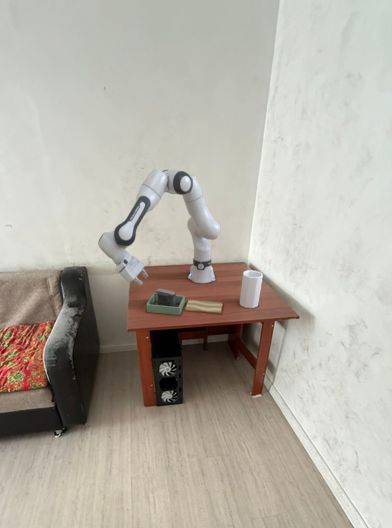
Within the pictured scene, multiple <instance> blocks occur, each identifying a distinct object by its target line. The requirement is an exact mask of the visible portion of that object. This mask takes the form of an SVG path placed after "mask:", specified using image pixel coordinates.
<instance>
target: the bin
mask: <svg viewBox="0 0 392 528" xmlns="http://www.w3.org/2000/svg"><path fill="white" fill-rule="evenodd" d="M185 300H186V297H185V295H177V294H176V304H179V306H176V307H171V306H160V305H156V304H154V303H155V302H156V292H153V294H152V295H151V297H150V298H149V299H148V301H147V303H146V305H145V306H146V312H147V313H153V314H164V315H173V316H181V314H182V311H183V308H184V306H185V303H186V301H185Z"/></svg>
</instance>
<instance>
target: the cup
mask: <svg viewBox="0 0 392 528" xmlns="http://www.w3.org/2000/svg"><path fill="white" fill-rule="evenodd" d="M263 277H264V275H263V272H261V271H259V270H253V269H247V270H244V271H243V272H242V279H241V287H240V295H239V306H241V307H242V308H244V309H255V308H257V307H258V306H259V301H260V295H261V289H262V283H263Z"/></svg>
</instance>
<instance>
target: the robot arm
mask: <svg viewBox="0 0 392 528" xmlns="http://www.w3.org/2000/svg"><path fill="white" fill-rule="evenodd" d="M164 193H168V194H171V195H180V196H182V199H183V203H184V204H185V207H186V210H187V213H188V215H189V216H190V217H189V218H188V220H187V222H186V223H187V230H188V231H189V234H190V235H191V239H192V244H193V258H192V265H191V266H190V274H189V275H188V276H187V279H188V280H190V281H191V282H193V283H196V284H207V283H211V282H215V281H216V276H215V272H214V268H213V266H212V246H211V245H212V244H211V243H210V242H209V240H211V241H215V240H216V239H218V237H220V234H221V225H220V224H219V223H218V222H217V220H215V218H214V216H213V215H212V213H211V212H210V209H209V208H208V206H207V203H206V200H205V197H204V194H203V191H202V188H201V185H200V182H199V181H198V179H197V177H196V176H195V175H194V174H189V173H188V172H186V171H184V170H179V169H164V170H161V169H158V168H157V169H155V168H154V169H152V170H151V172H149V174H148V175H147V176H146V177H145V179H144V180H143V182H142V184H141V185H140V187H139V188H138V191H137V194H136V197H135V202H134V205H133V207H132V208H131V210H130V212H129V213H128V215H127V216H126V218H125V220H124V221H122V222H120V223H119V224H118V225H117V226H116V227H115V228H114V230H111V231H105V232H103V233H102V234H101V235H100V238H99V239H98V242H97V243H98V247H99V249H100V250H101V251H102V252H103V253H104V255H106V257H108V258H109V259H111V260H112V262H113V263H114V264H115V272H116V273H117V274H119V275H120V276H121V277H122V278H123V279H124V280H125V281H126V282H127V283H130V284H131V283H132V282H134V283H137V284H138V285H139V286H142V285H143V284H144V281H142V280H140V279H139V278H138V276H139V275H140V273H141V274H142V275H143V278H144V279H147V278H148V277H149V275H148V273H147V272H146V270H145V269H144V268H145V267H146V265H145V263H144V262H142V261H141V260H140V258H138V257H136V256H133V255H131V254H130V252H129V251H128V250H126V249H127V248H129V247H131V246H132V245H133V244H134V243H135V240H136V236H137V230H138V227H139V226H140V224H141V223H142V221H143V219H144V217H145V216H146V215H147V214H148V213H149V212H150V211H153V210H154V209H155V208H156V207H157V205H158V204H159V203H160V201H161V200H162V198H163V196H164Z"/></svg>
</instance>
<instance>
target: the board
mask: <svg viewBox="0 0 392 528" xmlns="http://www.w3.org/2000/svg"><path fill="white" fill-rule="evenodd" d="M223 305H224V304H223V302H222V301H221V302H220V301H212V300H211V301H210V300H200V299H198V300H197V299H188V300H187V303H186V306H185V308H184V311H187V312H195V313H196V312H197V313H207V314H216V315H222V310H223Z"/></svg>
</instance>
